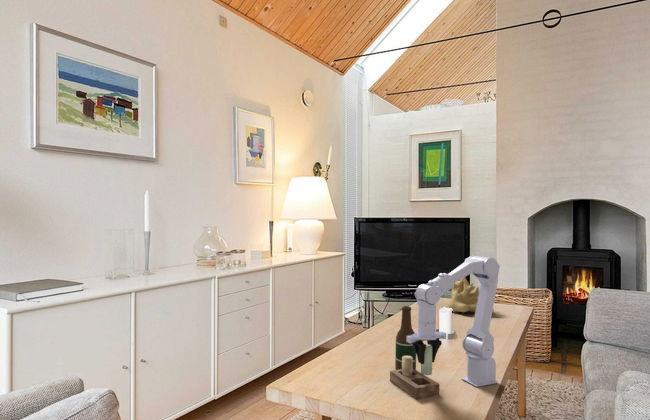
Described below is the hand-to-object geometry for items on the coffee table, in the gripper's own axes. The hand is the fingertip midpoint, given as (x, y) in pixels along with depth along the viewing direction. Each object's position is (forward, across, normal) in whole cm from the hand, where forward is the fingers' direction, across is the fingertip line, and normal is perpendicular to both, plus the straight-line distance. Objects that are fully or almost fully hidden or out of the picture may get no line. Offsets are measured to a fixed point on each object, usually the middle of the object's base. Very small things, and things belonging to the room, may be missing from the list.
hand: (426, 362), depth 148 cm
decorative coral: (+10, +91, +82) cm, 123 cm away
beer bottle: (+10, +5, +19) cm, 22 cm away
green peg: (+3, 0, 0) cm, 4 cm away
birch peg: (+10, -1, +9) cm, 13 cm away
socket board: (+10, -1, +5) cm, 11 cm away
